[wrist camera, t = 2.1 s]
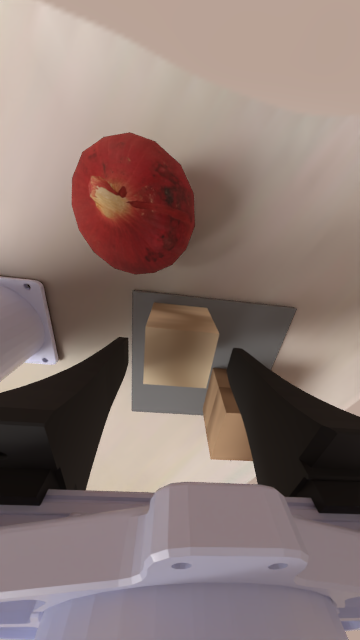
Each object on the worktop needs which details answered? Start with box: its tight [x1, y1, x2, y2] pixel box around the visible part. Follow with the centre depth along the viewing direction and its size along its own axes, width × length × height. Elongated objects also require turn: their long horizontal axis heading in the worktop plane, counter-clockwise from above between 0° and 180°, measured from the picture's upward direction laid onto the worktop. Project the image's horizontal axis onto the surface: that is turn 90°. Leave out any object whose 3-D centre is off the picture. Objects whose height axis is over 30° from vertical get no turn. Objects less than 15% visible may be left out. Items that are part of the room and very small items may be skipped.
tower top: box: [206, 387, 253, 461], centre depth 15 cm, size 6×6×2 cm
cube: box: [143, 302, 219, 388], centre depth 13 cm, size 4×4×4 cm
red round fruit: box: [72, 132, 195, 274], centre depth 9 cm, size 6×6×8 cm
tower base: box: [203, 368, 231, 430], centre depth 18 cm, size 6×6×2 cm
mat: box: [132, 290, 297, 415], centre depth 18 cm, size 14×14×1 cm
